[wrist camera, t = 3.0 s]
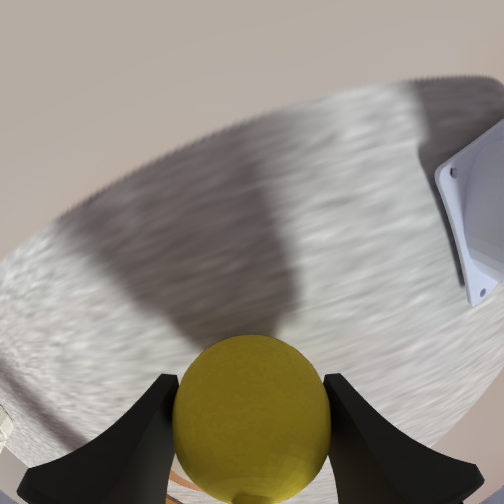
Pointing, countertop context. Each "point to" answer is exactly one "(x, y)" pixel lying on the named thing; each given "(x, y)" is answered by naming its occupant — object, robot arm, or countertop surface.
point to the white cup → (4, 427)
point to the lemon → (251, 421)
